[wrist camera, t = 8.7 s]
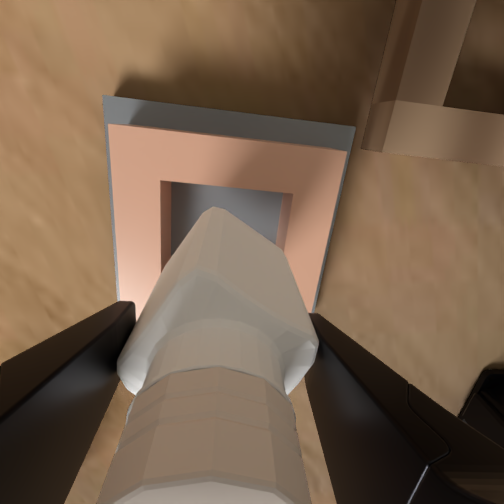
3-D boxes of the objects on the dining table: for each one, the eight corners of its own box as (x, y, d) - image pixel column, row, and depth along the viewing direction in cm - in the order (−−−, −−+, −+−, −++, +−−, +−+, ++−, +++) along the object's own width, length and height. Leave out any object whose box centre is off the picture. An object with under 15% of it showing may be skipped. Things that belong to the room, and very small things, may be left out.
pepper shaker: (212, 196, 12) (145, 403, 3) (290, 251, 13) (409, 522, 4) (160, 270, 13) (-1, 580, 4) (235, 315, 14) (235, 635, 5)
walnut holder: (630, -61, 13) (713, -100, 11) (526, 168, 17) (572, 174, 15) (421, -104, 12) (463, -157, 10) (360, 148, 16) (381, 152, 14)
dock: (347, 126, 16) (378, 126, 12) (306, 316, 20) (321, 354, 17) (112, 97, 15) (75, 88, 11) (125, 304, 19) (101, 343, 16)
